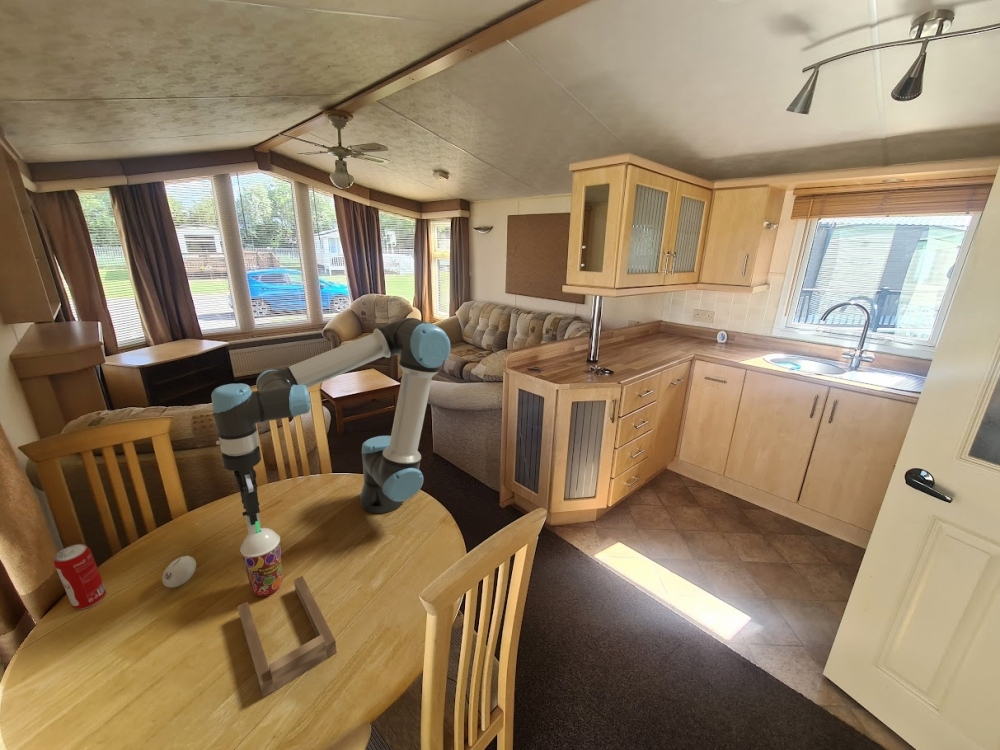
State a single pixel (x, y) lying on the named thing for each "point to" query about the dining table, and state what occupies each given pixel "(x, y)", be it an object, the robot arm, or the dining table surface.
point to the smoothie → (262, 560)
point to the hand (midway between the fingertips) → (255, 531)
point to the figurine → (179, 571)
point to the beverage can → (80, 576)
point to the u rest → (297, 659)
